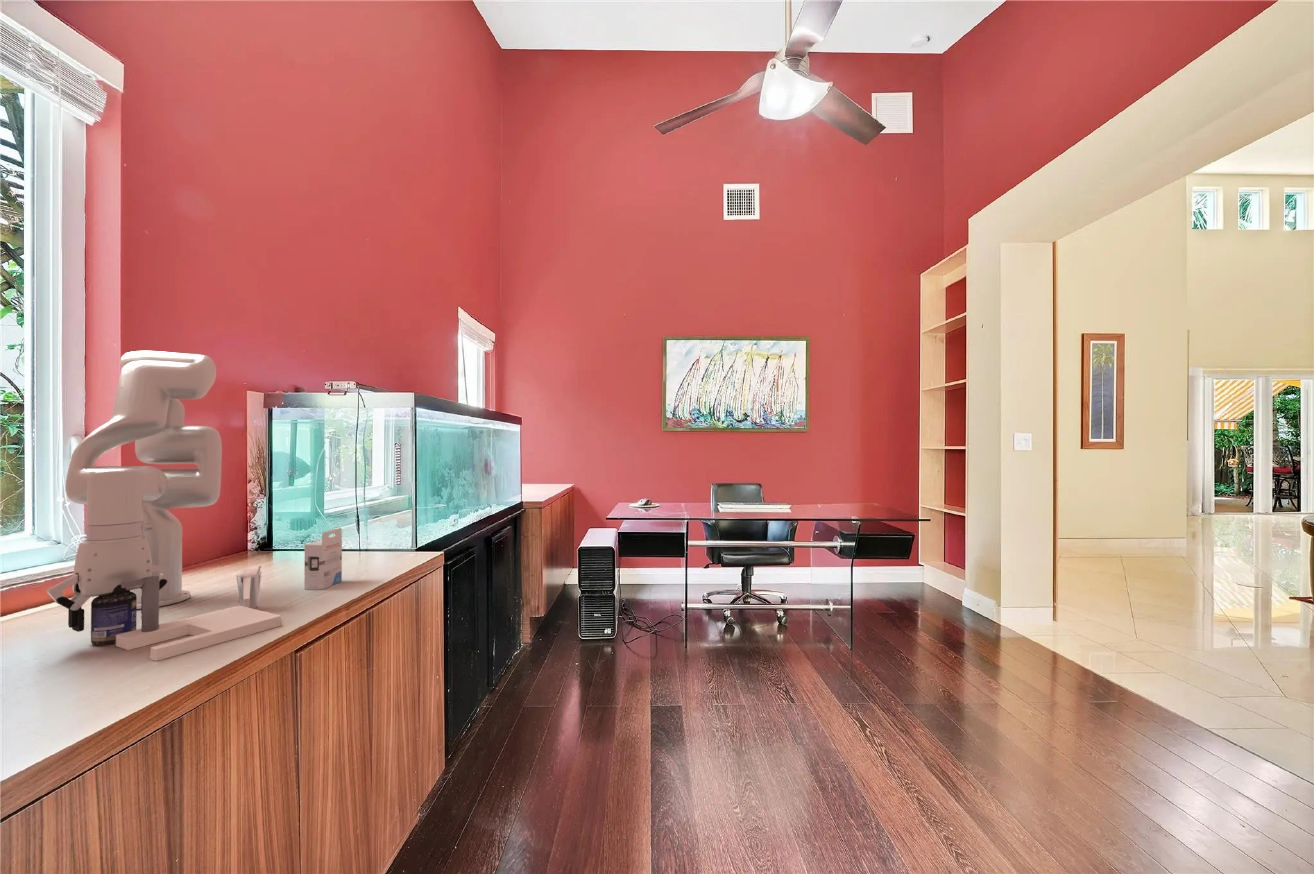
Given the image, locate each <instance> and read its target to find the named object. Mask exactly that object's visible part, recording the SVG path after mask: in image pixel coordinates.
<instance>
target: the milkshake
mask: <svg viewBox="0 0 1314 874" xmlns="http://www.w3.org/2000/svg"><path fill="white" fill-rule="evenodd" d="M261 568H262V565H259V566H258V568H245V569H243V570H240V571H238V572H237V573H236V575H235V576H236V577H235V578H236V585H237V591H238V592H237V593H238V602H239V605H238V606H244V607H248V608H252V609H256V610H258V608H259V599H260V589H261V579H262V571H261Z"/></svg>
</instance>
